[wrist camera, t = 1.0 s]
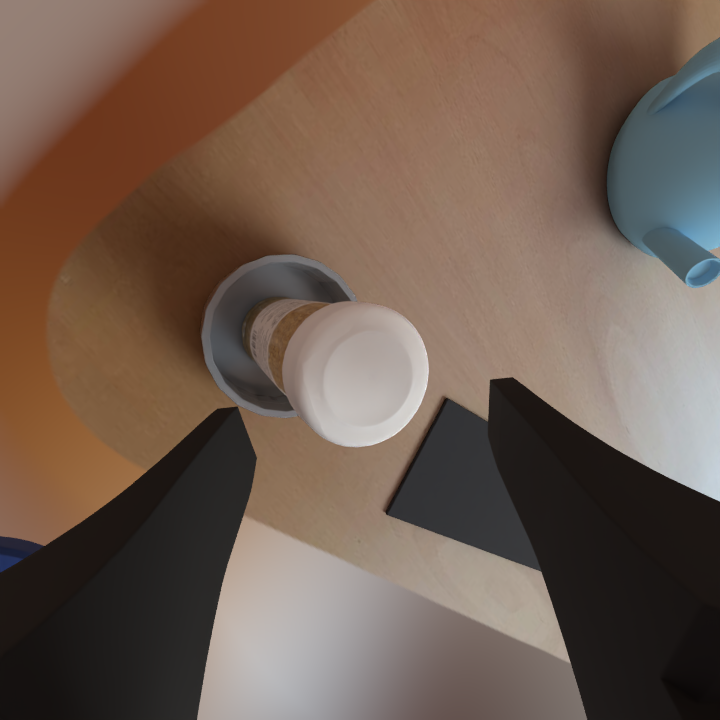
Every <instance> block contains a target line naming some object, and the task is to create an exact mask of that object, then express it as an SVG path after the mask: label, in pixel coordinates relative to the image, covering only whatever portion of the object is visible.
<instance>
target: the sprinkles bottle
mask: <svg viewBox="0 0 720 720" xmlns="http://www.w3.org/2000/svg"><path fill="white" fill-rule="evenodd" d="M242 340H243V346H244V348H245V350H246V352H247V354H248V355H249V357H250V358H251V359H252V360H253V361H254V362H256V363H257V364H258V366H259V367H260V368H261V369H262V370H263V371H264V373H265V374H266V375H267V376H268V377H269V378H270V379H271V381H272V382H273V383H274V384H275V385H276V386H277V387H278V388H279V389H280V390H281V391H282V392H283V393H284V394H285V395H286V396H287V398H288V400H289V402H290V404H291V406H292V407H293V409H294V410H295V411H296V413H297V414H298V415H299V416H300V417H301V418H302V419H303V420H304V422H305V423H306V424H307V425H308V426H310V427H311V428H312V429H313V430H314V431H315V432H316V433H317V434H319V435H320V436H321V437H323V438H324V439H326V440H328V441H330V442H332V443H335V444H338V445H342V446H347V447H364V446H370V445H374V444H377V443H380V442H382V441H384V440H386V439H388V438H390V437H392V436H393V435H395V434H396V433H397V432H399V431H400V430H401V429H402V428H403V427H404V426H405V425H406V424H407V423H408V422H409V421H410V420H411V419H412V417H413V416H414V414H415V413H416V411H417V410H418V408H419V406H420V404H421V402H422V399H423V397H424V394H425V391H426V387H427V382H428V358H427V353H426V349H425V346H424V343H423V341H422V338H421V337H420V335H419V333H418V332H417V330H416V329H415V327H414V326H413V325H412V324H411V322H409V321H408V320H407V319H406V318H405V317H404V316H402V315H401V314H400V313H398V312H396V311H395V310H393V309H391V308H388V307H385V306H382V305H379V304H373V303H366V302H356V301H344V302H337V303H333V304H331V303H325V302H317V301H306V300H298V299H290V298H287V297H271V298H267V299H265V300H263V301H260V302H258V303H257V304H256V305H255V306H254V307H253V308H251V310H250V311H249V312H248V314H247V315H246V317H245V319H244V322H243V325H242Z"/></svg>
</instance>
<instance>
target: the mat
mask: <svg viewBox="0 0 720 720" xmlns="http://www.w3.org/2000/svg"><path fill="white" fill-rule="evenodd" d="M386 514H387V515H389V516H392V517H395V518H397V519H400V520H403V521H405V522H408V523H411V524H414V525H416V526H419V527H422V528H424V529H427V530H430V531H433V532H435V533H438V534H441V535H443V536H446V537H449V538H452V539H454V540H457V541H460V542H463V543H465V544H468V545H471V546H473V547H476V548H479V549H482V550H484V551H487V552H490V553H492V554H495V555H498V556H501V557H503V558H506V559H509V560H511V561H514V562H517V563H520V564H522V565H525V566H528V567H530V568H533V569H536V570H539V571H541V569H540V566H539V563H538V560H537V557H536V555H535V552H534V550H533V547H532V545H531V542H530V540H529V538H528V536H527V533H526V531H525V529H524V527H523V524H522V522H521V520H520V518H519V516H518V513H517V511H516V509H515V507H514V504H513V502H512V500H511V498H510V496H509V493H508V491H507V489H506V487H505V484H504V482H503V480H502V478H501V475H500V473H499V471H498V468H497V465H496V462H495V459H494V456H493V452H492V449H491V446H490V442H489V439H488V422H487V421H485V420H483V419H482V418H480V417H478V416H477V415H475V414H473V413H472V412H470V411H468V410H466V409H465V408H463V407H461V406H460V405H458V404H456V403H455V402H453V401H451V400H450V399H448V398H446V400H445V402H444V404H443V405H442V407H441V409H440V411H439V413H438V415H437V417H436V419H435V421H434V422H433V424H432V426H431V428H430V430H429V432H428V434H427V436H426V438H425V439H424V441H423V443H422V445H421V447H420V449H419V451H418V453H417V454H416V456H415V458H414V460H413V462H412V464H411V466H410V468H409V470H408V471H407V473H406V475H405V477H404V479H403V481H402V483H401V485H400V487H399V488H398V490H397V492H396V494H395V496H394V498H393V500H392V502H391V504H390V505H389V507H388V509H387V511H386Z"/></svg>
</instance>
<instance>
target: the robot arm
mask: <svg viewBox="0 0 720 720" xmlns="http://www.w3.org/2000/svg"><path fill="white" fill-rule="evenodd" d="M488 439H489V442H490V446H491V449H492V452H493V456H494V459H495V462H496V465H497V468H498V471H499V473H500V475H501V478H502V480H503V482H504V484H505V487H506V489H507V491H508V493H509V496H510V498H511V500H512V502H513V504H514V507H515V509H516V511H517V513H518V516H519V518H520V520H521V522H522V524H523V527H524V529H525V531H526V533H527V536H528V538H529V540H530V542H531V545H532V547H533V550H534V552H535V555H536V557H537V560H538V563H539V566H540V569H541V572H542V575H543V578H544V580H545V583H546V586H547V589H548V592H549V595H550V598H551V601H552V604H553V608H554V611H555V614H556V617H557V620H558V623H559V626H560V629H561V633H562V636H563V639H564V642H565V645H566V649H567V652H568V655H569V658H570V662H571V665H572V668H573V672H574V675H575V678H576V682H577V685H578V688H579V692H580V695H581V698H582V702H583V706H584V709H585V713H586V716H587V720H720V501H717V500H715V499H713V498H711V497H708V496H706V495H704V494H702V493H700V492H698V491H695V490H693V489H691V488H689V487H687V486H685V485H683V484H680V483H678V482H676V481H674V480H672V479H670V478H668V477H666V476H664V475H662V474H660V473H658V472H656V471H654V470H652V469H650V468H649V467H647V466H645V465H643V464H641V463H639V462H638V461H636V460H634V459H632V458H630V457H628V456H627V455H625V454H623V453H621V452H620V451H618V450H616V449H614V448H613V447H611V446H609V445H608V444H606V443H605V442H603V441H601V440H600V439H598V438H597V437H595V436H594V435H592V434H590V433H589V432H587V431H586V430H584V429H583V428H581V427H580V426H578V425H577V424H575V423H574V422H572V421H571V420H570V419H568V418H567V417H565V416H564V415H562V414H561V413H560V412H558V411H557V410H556V409H554V408H553V407H551V406H550V405H549V404H547V403H546V402H545V401H543V400H542V399H541V398H539V397H538V396H537V395H535V394H534V393H533V392H532V391H530V390H529V389H528V388H526V387H525V386H524V385H522V384H521V383H520V382H518V381H517V380H516V379H514V378H513V377H511V378H502V379H492V380H490V393H489V416H488ZM256 460H257V457H256V454H255V452H254V449H253V446H252V444H251V441H250V438H249V436H248V433H247V430H246V428H245V425H244V422H243V420H242V417H241V414H240V412H239V409H238V407H230V408H220V409H217V410H215V411H214V412H213V413H212V414H211V415H209V416H208V417H207V418H206V419H205V420H204V421H203V422H202V423H200V424H199V425H198V426H197V427H196V428H195V429H194V430H193V431H192V432H191V433H190V434H189V435H187V436H186V437H185V438H184V439H183V440H182V441H181V442H180V443H179V444H178V445H177V446H175V447H174V448H173V449H172V450H171V451H170V452H169V453H168V454H167V455H166V456H165V457H163V458H162V459H161V460H160V461H159V462H158V463H156V464H155V465H154V466H153V467H152V468H151V469H149V470H148V471H147V472H146V473H145V474H143V475H142V476H141V477H140V478H139V479H138V480H136V481H135V482H134V483H133V484H132V485H131V486H129V487H128V488H127V489H126V490H124V491H123V492H122V493H120V494H119V495H118V496H117V497H116V498H114V499H113V500H111V501H110V502H109V503H107V504H106V505H105V506H103V507H102V508H100V509H99V510H98V511H96V512H95V513H94V514H92V515H91V516H89V517H88V518H87V519H85V520H84V521H82V522H81V523H80V524H78V525H76V526H75V527H73V528H72V529H70V530H69V531H67V532H66V533H64V534H63V535H61V536H60V537H58V538H56V539H55V540H53V541H52V542H50V543H49V544H47V545H46V546H44V547H43V548H41V549H40V550H38V551H36V552H35V553H33V554H31V555H30V556H28V557H26V558H25V559H23V560H21V561H20V562H18V563H16V564H15V565H13V566H11V567H10V568H8V569H6V570H4V571H3V572H1V573H0V720H197V715H198V709H199V702H200V697H201V690H202V685H203V679H204V672H205V666H206V661H207V655H208V650H209V645H210V639H211V635H212V629H213V624H214V619H215V615H216V610H217V605H218V601H219V596H220V591H221V587H222V582H223V579H224V575H225V572H226V568H227V564H228V561H229V558H230V555H231V552H232V549H233V545H234V543H235V539H236V537H237V533H238V530H239V527H240V524H241V521H242V518H243V515H244V512H245V509H246V505H247V502H248V499H249V496H250V492H251V488H252V483H253V478H254V472H255V466H256Z"/></svg>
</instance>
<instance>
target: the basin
mask: <svg viewBox="0 0 720 720" xmlns="http://www.w3.org/2000/svg"><path fill="white" fill-rule="evenodd" d="M271 297H287V298H290V299H298V300H306V301H317V302H325V303H331V304H333V303H337V302H344V301H356V302H357V299H356V296H355V294H354V293H353V292H352V291H351V289H350V288H349V287H348V285H347V284H346V283H345V281H344V280H343V279H342V278H341V276H340V275H338V274H337V273H335V272H334V271H332V270H331V269H330V268H328V267H327V266H325V265H324V264H322V263H321V262H319V261H316V260H313V259H309V258H306V257H302V256H299V255H296V254H295V255H294V254H287V255H268V256H265V257H262V258H260V259H257V260H254V261H252V262H249V263H247V264H244V265H242V266H239V267H237V268H235V269H234V270H232V271H231V272H230V273H229V274H228V275H226V276H225V277H224V278H223V279H222V280H221V281H219V282H218V283H217V284H216V286H215V287H214V289H213V291H212V292H211V294H210V296H209V298H208V299H207V301H206V303H205V306H204V308H203V314H202V318H201V324H200V336H201V343H202V349H203V355H204V360H205V363H206V366H207V367H208V369H209V371H210V373H211V375H212V377H213V379H214V381H215V382H216V384H217V386H218V387H219V388H220V389H221V390H222V391H223V392H224V393H225V394H226V395H227V396H228V397H229V398H230V399H231V400H233V401H234V402H235V403H236V404H237V405H238V406H241V407H243V408H245V409H247V410H250V411H252V412H254V413H256V414H259V415H262V416H270V417H280V418H289V417H294V416H299V415H298V414H297V413H296V411H295V410H294V409H293V407H292V406H291V404H290V402H289V400H288V398H287V396H286V395H285V394H284V393H283V392H282V391H281V390H280V389H279V388H278V387H277V386H276V385H275V384H274V383H273V382H272V381H271V379H270V378H269V377H268V376H267V375H266V374H265V373H264V371H263V370H262V369H261V368H260V367H259V366H258V364H257V363H256V362H254V361H253V360H252V359H251V358H250V357H249V355H248V354H247V352H246V350H245V348H244V346H243V340H242V325H243V322H244V319H245V317H246V315H247V314H248V312H249V311H250V310H251V308H253V307H254V306H255V305H256V304H257V303H258V302H260V301H263V300H265V299H267V298H271Z"/></svg>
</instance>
